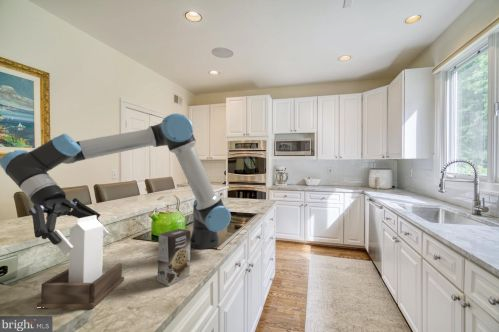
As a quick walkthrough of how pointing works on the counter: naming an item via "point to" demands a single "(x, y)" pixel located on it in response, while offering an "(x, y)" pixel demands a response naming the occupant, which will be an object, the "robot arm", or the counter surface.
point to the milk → (86, 250)
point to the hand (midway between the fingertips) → (89, 242)
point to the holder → (79, 290)
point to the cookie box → (173, 256)
